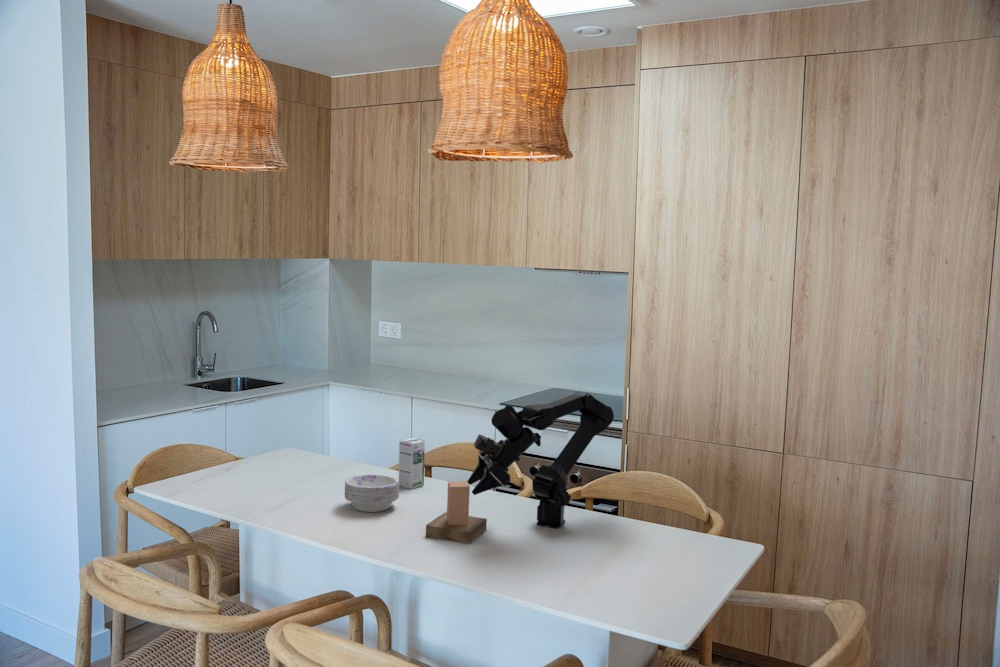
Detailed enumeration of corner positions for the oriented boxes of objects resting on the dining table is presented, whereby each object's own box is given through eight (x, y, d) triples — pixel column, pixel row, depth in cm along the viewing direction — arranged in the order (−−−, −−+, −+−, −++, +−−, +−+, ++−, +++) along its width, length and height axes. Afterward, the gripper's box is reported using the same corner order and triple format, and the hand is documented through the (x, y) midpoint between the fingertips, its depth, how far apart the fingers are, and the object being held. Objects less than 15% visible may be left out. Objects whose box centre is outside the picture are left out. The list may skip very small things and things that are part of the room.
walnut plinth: (486, 529, 215) (486, 518, 215) (469, 543, 204) (469, 532, 204) (444, 523, 219) (445, 512, 219) (425, 536, 208) (426, 525, 208)
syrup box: (411, 489, 250) (413, 443, 248) (397, 485, 253) (399, 439, 252) (424, 485, 254) (425, 440, 253) (410, 482, 258) (411, 437, 256)
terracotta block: (465, 518, 214) (467, 481, 214) (468, 524, 210) (469, 486, 209) (446, 518, 214) (448, 481, 213) (448, 525, 209) (450, 486, 208)
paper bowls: (371, 496, 241) (371, 470, 240) (409, 507, 232) (410, 479, 231) (332, 508, 228) (333, 480, 228) (371, 519, 220) (372, 491, 219)
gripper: (487, 417, 220) (445, 458, 219) (499, 432, 202) (453, 476, 201) (515, 446, 222) (473, 486, 221) (529, 463, 204) (483, 507, 203)
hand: (470, 488), depth 211 cm, fingers open, 9 cm apart
